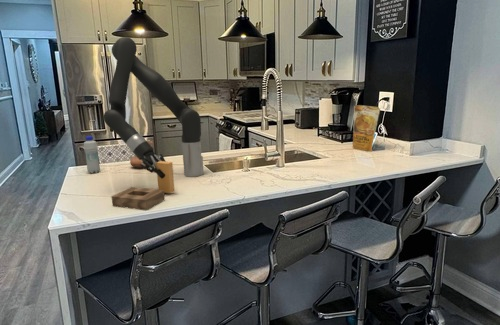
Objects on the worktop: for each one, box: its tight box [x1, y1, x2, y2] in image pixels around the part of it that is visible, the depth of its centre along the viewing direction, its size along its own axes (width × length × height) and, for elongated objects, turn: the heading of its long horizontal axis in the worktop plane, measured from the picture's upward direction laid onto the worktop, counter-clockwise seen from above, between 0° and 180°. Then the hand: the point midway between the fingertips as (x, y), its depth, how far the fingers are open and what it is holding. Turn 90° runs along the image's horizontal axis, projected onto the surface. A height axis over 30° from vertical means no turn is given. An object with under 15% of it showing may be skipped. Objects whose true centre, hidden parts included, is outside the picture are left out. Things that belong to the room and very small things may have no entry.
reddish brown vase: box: [129, 140, 154, 169], centre depth 198 cm, size 18×14×14 cm
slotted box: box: [111, 186, 166, 211], centre depth 140 cm, size 16×12×4 cm
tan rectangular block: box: [156, 160, 175, 194], centre depth 149 cm, size 6×3×13 cm, turn 70°
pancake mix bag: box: [352, 104, 381, 152], centre depth 224 cm, size 7×19×28 cm, turn 30°
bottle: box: [83, 135, 101, 174], centre depth 186 cm, size 7×7×20 cm
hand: (166, 175), depth 149 cm, fingers open, 3 cm apart
